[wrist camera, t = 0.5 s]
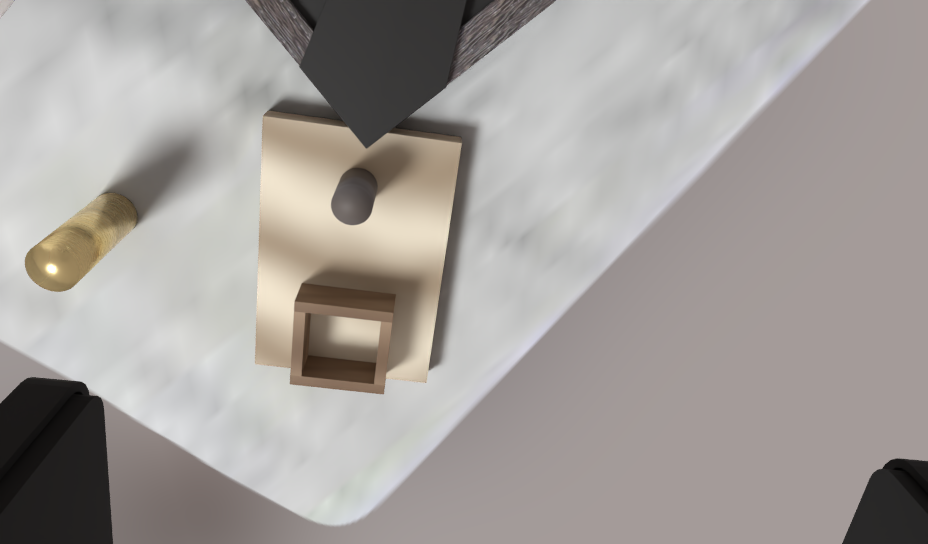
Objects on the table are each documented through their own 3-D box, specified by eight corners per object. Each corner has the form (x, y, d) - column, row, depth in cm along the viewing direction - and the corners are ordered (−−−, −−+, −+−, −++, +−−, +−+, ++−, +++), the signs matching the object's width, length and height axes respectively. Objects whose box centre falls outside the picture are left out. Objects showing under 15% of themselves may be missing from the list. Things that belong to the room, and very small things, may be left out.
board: (268, 110, 38) (248, 131, 34) (461, 137, 39) (463, 160, 35) (259, 353, 44) (242, 393, 40) (426, 371, 45) (425, 413, 41)
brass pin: (90, 190, 39) (22, 240, 33) (136, 195, 40) (77, 247, 33) (93, 231, 40) (27, 288, 34) (138, 236, 41) (81, 294, 34)
